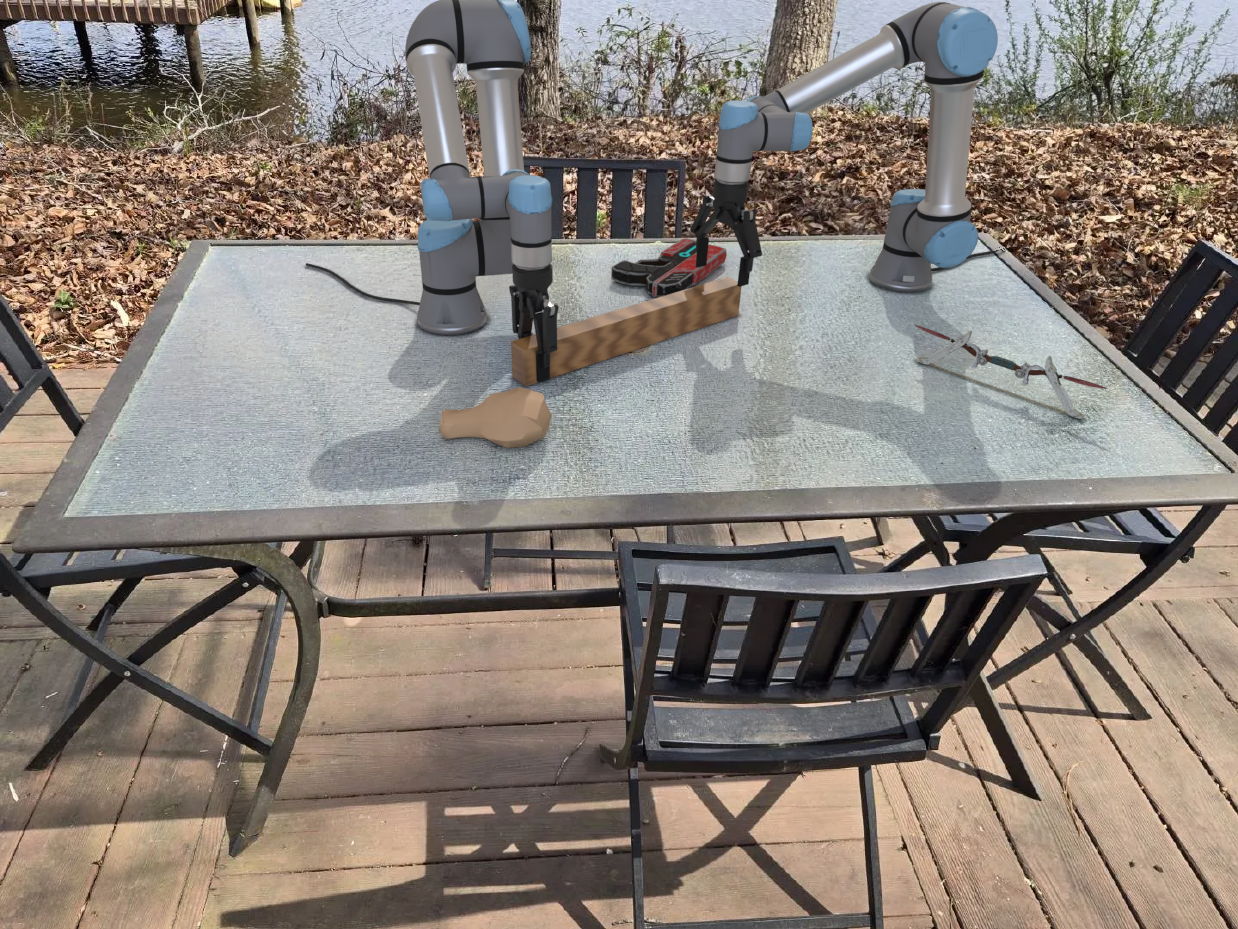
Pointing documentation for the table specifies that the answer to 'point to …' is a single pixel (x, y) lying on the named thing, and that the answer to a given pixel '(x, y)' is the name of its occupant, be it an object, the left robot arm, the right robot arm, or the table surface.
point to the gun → (669, 269)
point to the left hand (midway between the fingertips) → (535, 374)
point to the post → (629, 329)
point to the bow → (1020, 371)
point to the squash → (501, 419)
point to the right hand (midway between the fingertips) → (721, 275)
